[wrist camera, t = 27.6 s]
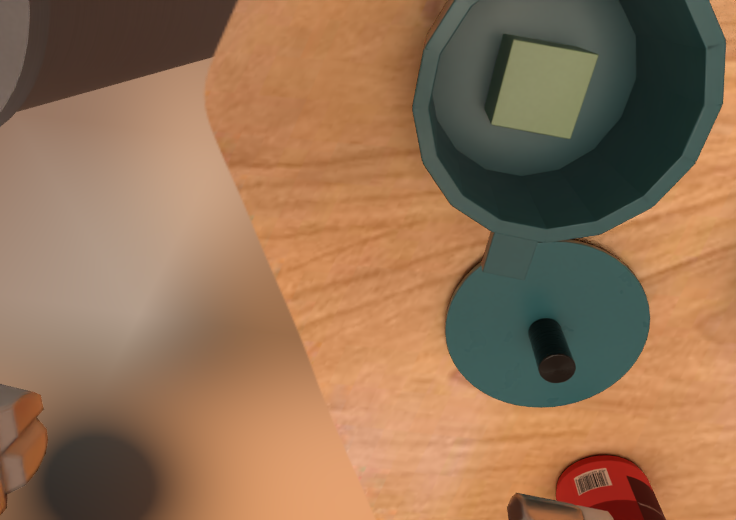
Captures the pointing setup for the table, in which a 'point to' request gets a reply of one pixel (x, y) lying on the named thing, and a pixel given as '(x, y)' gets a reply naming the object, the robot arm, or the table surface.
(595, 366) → the lid
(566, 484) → the canned food
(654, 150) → the pot
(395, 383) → the table surface
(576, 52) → the block
